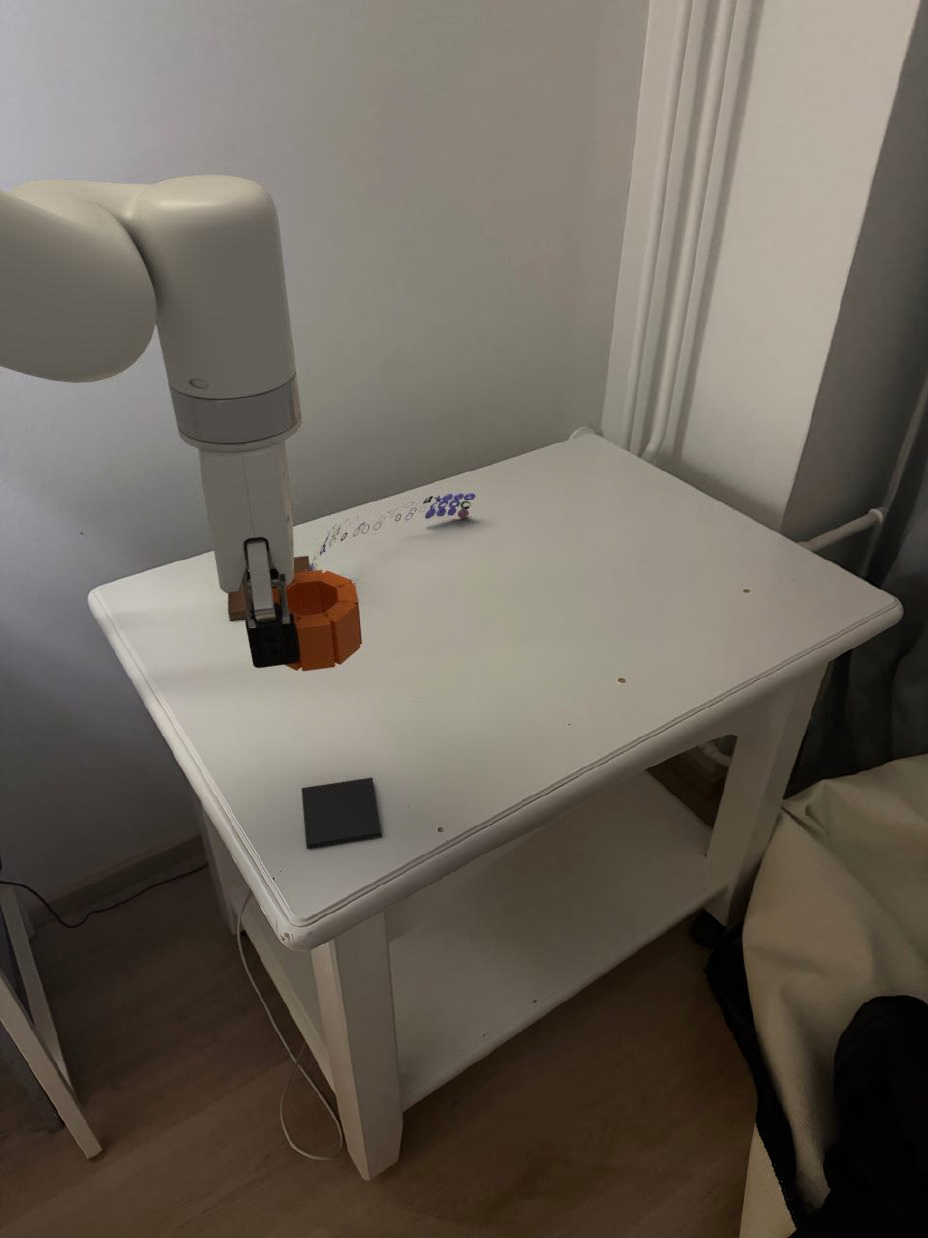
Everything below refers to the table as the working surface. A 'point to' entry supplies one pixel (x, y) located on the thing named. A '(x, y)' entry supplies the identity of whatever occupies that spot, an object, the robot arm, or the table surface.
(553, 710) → the table surface
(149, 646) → the table surface
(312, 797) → the mat
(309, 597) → the orange octagonal tube
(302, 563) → the rack
